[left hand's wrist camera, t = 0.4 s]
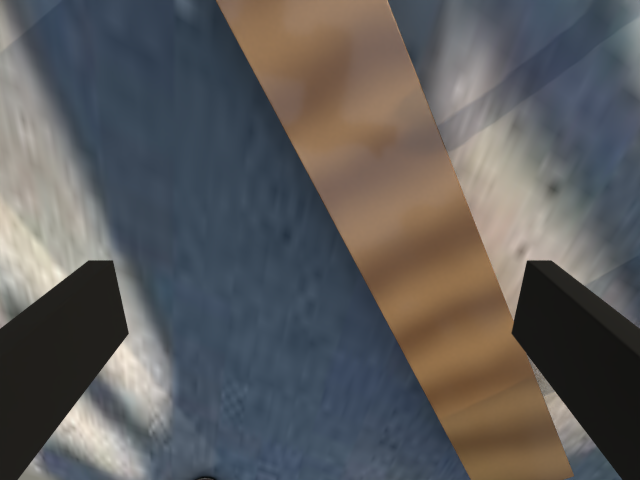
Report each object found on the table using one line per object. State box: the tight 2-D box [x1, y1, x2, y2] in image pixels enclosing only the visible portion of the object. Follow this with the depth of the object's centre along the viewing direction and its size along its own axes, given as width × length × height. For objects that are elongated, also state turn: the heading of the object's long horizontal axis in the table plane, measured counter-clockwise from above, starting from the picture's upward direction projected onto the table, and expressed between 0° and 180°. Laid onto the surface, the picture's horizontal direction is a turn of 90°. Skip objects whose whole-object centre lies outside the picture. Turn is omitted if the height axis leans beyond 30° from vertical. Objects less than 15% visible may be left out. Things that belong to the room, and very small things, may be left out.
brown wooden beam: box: [216, 0, 574, 480], centre depth 34 cm, size 60×10×8 cm, turn 27°
